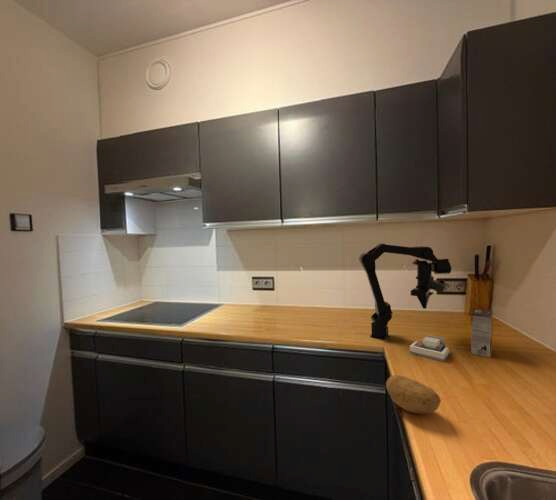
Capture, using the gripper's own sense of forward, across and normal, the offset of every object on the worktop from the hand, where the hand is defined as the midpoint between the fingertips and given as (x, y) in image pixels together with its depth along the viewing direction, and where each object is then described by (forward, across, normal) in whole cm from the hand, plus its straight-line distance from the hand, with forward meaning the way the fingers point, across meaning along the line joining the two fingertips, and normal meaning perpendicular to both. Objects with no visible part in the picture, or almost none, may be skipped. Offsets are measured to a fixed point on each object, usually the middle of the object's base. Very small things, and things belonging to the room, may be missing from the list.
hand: (424, 308), depth 132 cm
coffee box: (+13, -4, -22) cm, 26 cm away
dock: (+13, -16, -7) cm, 22 cm away
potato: (+13, -59, -14) cm, 62 cm away
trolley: (+12, -17, -8) cm, 22 cm away
